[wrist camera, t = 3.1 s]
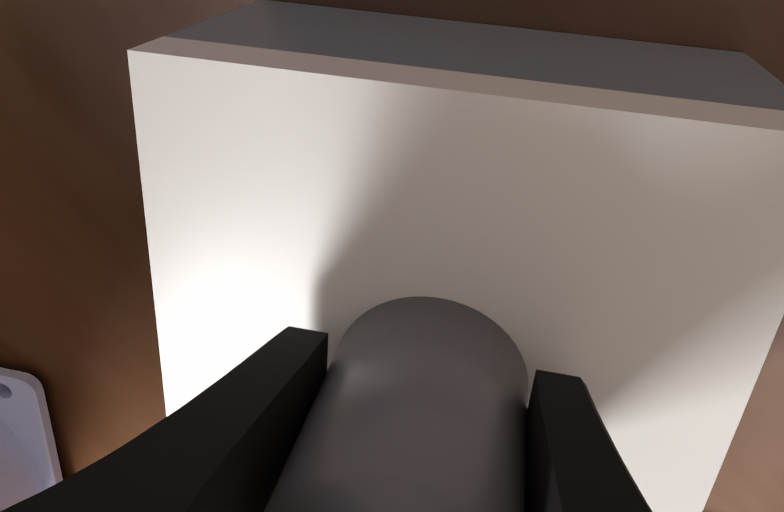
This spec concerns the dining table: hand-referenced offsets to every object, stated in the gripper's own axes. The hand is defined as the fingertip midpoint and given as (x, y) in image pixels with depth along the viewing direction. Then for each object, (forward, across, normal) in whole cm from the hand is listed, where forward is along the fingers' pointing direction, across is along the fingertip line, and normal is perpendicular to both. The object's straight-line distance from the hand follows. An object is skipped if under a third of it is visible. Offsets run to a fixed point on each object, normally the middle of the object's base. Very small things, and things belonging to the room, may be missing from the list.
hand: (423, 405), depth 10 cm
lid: (+2, 0, 0) cm, 2 cm away
